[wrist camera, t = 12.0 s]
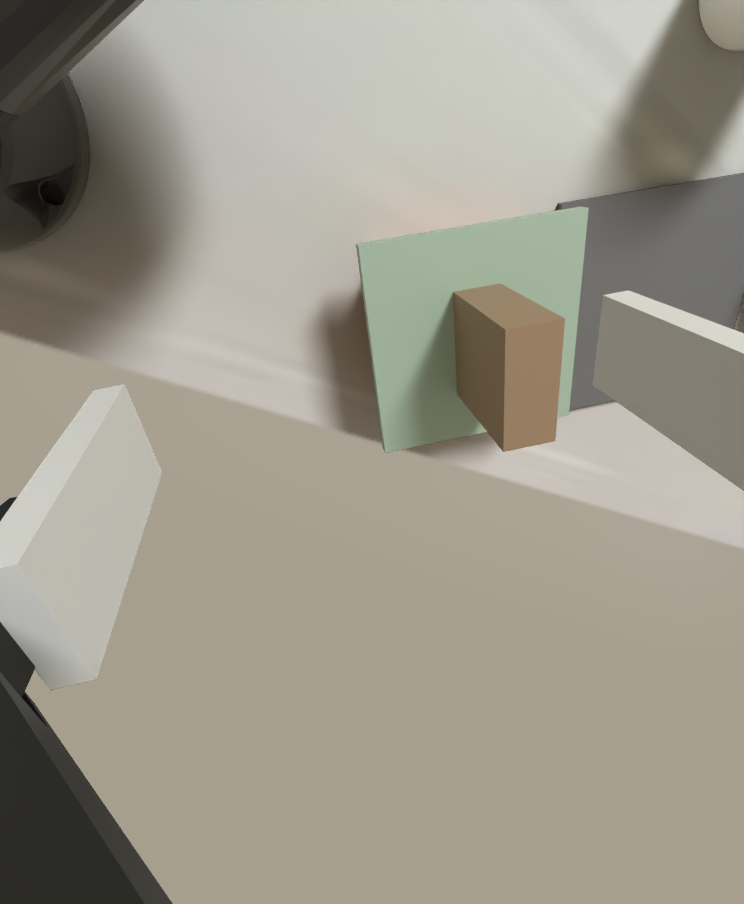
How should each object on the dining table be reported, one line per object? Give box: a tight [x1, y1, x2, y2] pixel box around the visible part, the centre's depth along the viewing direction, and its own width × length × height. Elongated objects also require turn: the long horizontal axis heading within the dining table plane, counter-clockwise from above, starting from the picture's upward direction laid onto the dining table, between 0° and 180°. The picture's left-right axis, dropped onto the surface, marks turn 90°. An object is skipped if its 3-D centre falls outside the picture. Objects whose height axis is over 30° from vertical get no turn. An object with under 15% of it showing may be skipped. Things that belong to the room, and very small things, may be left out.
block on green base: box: [356, 207, 589, 453], centre depth 34 cm, size 16×16×10 cm
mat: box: [558, 173, 744, 410], centre depth 46 cm, size 19×19×1 cm
